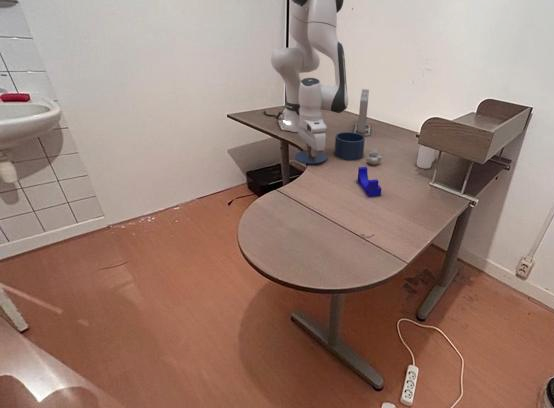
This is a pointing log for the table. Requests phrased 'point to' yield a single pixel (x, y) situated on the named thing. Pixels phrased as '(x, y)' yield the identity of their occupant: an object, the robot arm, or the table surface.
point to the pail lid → (310, 157)
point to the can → (425, 157)
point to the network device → (363, 114)
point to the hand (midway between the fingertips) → (311, 153)
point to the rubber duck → (373, 157)
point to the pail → (349, 146)
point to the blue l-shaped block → (368, 183)
